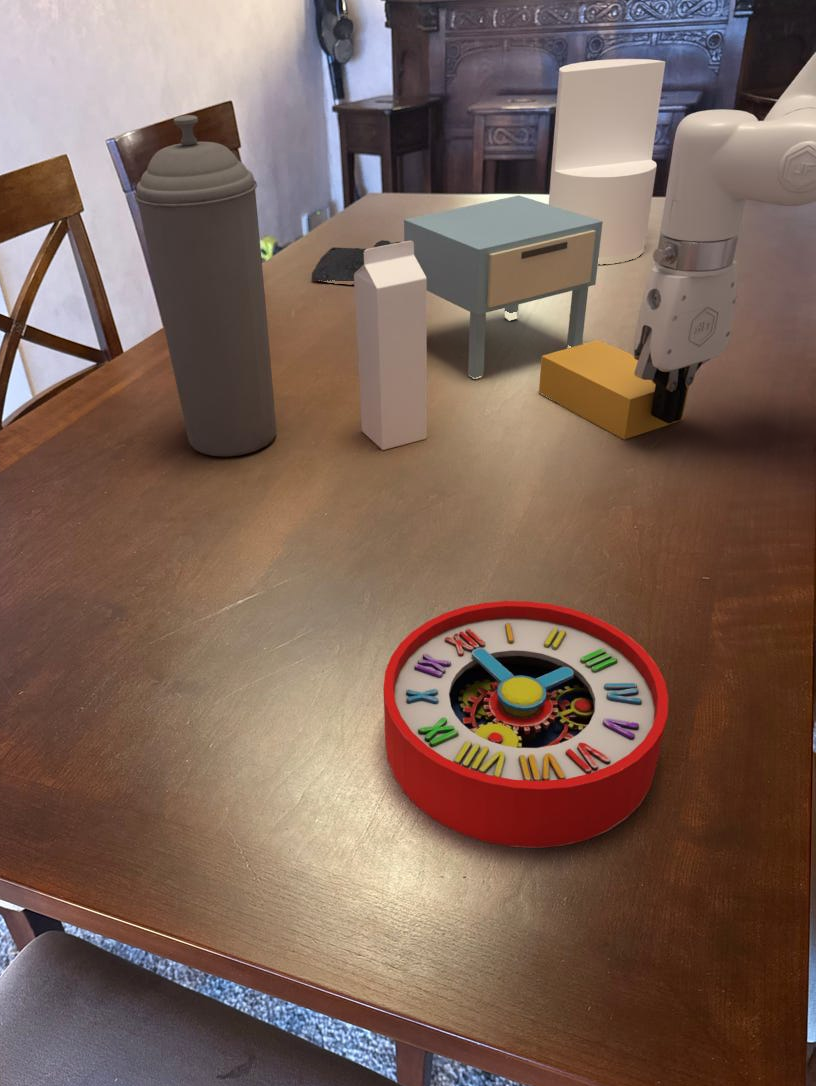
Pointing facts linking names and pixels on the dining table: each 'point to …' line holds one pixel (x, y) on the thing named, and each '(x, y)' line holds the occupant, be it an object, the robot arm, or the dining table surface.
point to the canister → (210, 291)
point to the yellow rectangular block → (601, 388)
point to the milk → (392, 345)
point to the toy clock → (523, 722)
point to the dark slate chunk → (341, 263)
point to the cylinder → (607, 147)
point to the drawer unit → (506, 260)
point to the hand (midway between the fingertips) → (665, 417)
